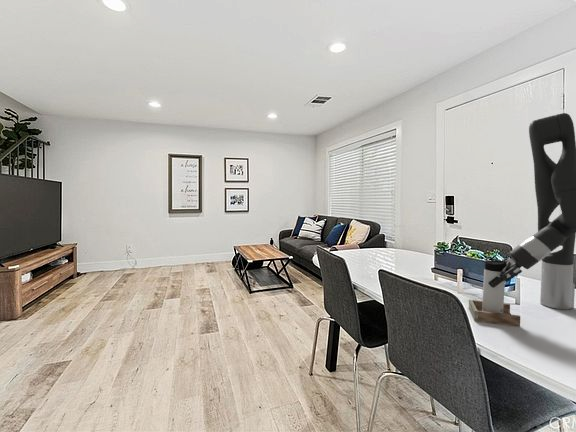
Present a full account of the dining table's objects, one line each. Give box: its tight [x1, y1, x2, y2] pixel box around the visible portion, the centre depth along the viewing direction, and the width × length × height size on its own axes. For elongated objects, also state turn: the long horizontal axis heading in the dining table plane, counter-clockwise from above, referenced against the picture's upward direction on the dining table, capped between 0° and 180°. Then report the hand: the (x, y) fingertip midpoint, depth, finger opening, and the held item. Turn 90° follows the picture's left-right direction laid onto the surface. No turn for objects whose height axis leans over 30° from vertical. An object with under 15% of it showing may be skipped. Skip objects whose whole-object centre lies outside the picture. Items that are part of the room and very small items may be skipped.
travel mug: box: [482, 259, 507, 313], centre depth 106 cm, size 6×7×20 cm
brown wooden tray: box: [468, 299, 521, 328], centre depth 107 cm, size 13×13×4 cm
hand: (488, 282), depth 107 cm, fingers open, 6 cm apart
